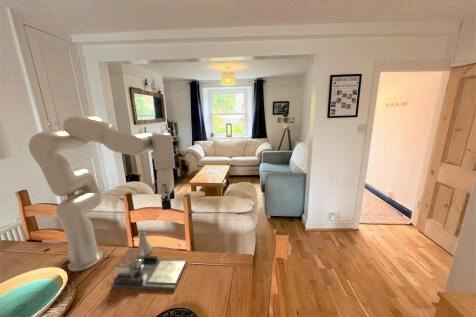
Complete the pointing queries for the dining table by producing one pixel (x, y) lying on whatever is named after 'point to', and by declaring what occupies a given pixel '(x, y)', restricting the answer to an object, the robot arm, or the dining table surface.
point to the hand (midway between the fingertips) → (169, 203)
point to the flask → (144, 244)
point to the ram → (130, 263)
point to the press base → (154, 275)
